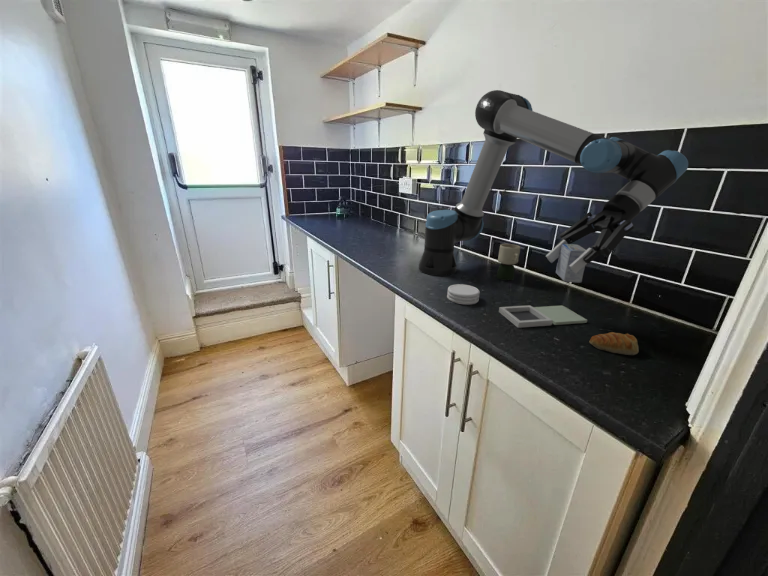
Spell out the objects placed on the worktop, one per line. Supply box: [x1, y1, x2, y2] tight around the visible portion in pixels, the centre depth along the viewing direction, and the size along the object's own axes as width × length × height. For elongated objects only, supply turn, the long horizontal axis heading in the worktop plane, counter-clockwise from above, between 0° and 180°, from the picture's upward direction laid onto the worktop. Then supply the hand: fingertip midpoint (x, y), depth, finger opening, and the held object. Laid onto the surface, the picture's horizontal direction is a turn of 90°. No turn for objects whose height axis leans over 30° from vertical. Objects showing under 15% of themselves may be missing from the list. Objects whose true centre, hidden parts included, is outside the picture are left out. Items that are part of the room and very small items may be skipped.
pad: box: [533, 305, 588, 326], centre depth 93 cm, size 10×10×1 cm
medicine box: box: [555, 243, 587, 284], centre depth 88 cm, size 8×4×9 cm, turn 168°
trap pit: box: [498, 304, 553, 329], centre depth 91 cm, size 10×10×2 cm
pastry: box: [588, 331, 640, 356], centre depth 77 cm, size 9×7×4 cm
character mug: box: [496, 243, 521, 281], centre depth 121 cm, size 11×7×13 cm, turn 13°
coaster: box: [446, 283, 481, 306], centre depth 104 cm, size 10×10×4 cm
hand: (560, 264), depth 87 cm, fingers closed on medicine box, 9 cm apart
